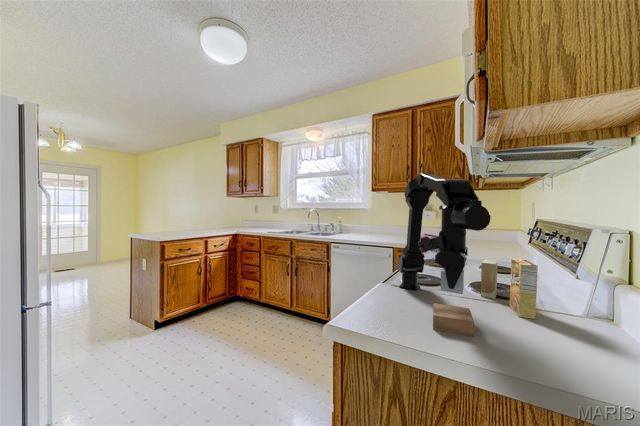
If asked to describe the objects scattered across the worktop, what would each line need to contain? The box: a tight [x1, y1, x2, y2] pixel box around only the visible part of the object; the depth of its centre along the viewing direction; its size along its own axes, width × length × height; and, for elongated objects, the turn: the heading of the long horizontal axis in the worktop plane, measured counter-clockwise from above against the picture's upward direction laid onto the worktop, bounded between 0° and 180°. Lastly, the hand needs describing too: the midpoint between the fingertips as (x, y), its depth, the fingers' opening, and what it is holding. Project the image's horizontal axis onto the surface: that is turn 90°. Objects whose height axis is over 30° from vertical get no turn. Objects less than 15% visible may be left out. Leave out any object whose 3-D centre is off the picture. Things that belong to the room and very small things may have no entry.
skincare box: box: [480, 259, 498, 300], centre depth 89 cm, size 6×4×12 cm
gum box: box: [420, 233, 440, 259], centre depth 160 cm, size 24×8×14 cm, turn 13°
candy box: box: [509, 258, 539, 320], centre depth 75 cm, size 9×4×15 cm, turn 157°
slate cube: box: [440, 267, 465, 295], centre depth 66 cm, size 5×5×5 cm
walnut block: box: [432, 302, 475, 338], centre depth 66 cm, size 9×9×4 cm
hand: (452, 285), depth 66 cm, fingers closed on slate cube, 5 cm apart
